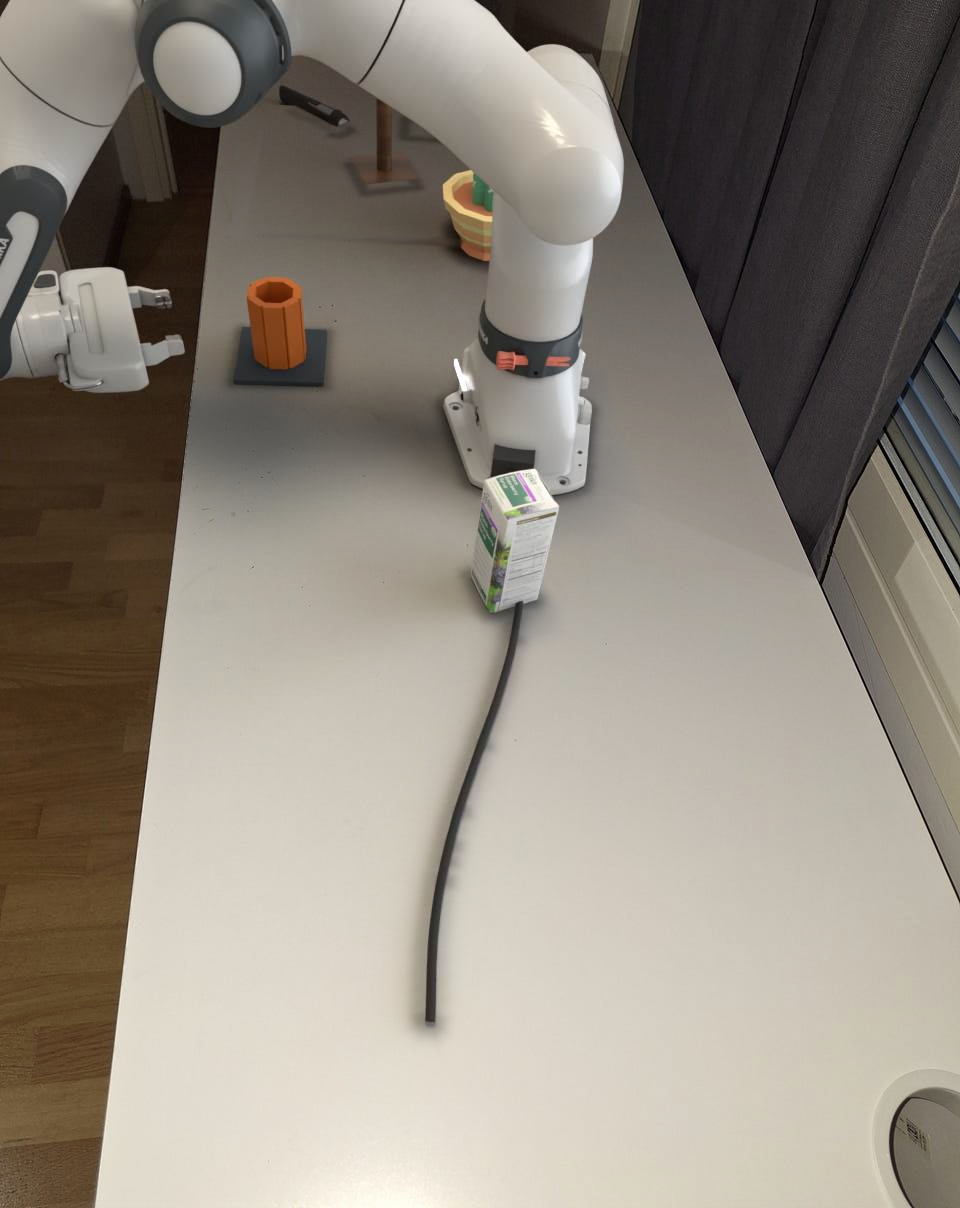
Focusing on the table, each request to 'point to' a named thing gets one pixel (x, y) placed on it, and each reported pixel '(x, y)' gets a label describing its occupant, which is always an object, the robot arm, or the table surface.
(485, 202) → the potted cactus
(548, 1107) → the table surface
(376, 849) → the table surface
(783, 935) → the table surface
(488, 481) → the syrup box
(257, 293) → the orange faceted tube
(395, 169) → the post
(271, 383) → the mat
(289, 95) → the electric trimmer
